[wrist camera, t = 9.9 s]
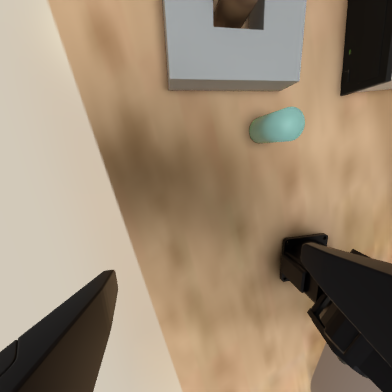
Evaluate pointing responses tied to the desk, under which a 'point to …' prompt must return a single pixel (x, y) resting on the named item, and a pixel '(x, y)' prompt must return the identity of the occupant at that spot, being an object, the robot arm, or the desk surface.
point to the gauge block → (233, 47)
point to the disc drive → (367, 47)
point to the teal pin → (278, 126)
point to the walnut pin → (232, 13)
